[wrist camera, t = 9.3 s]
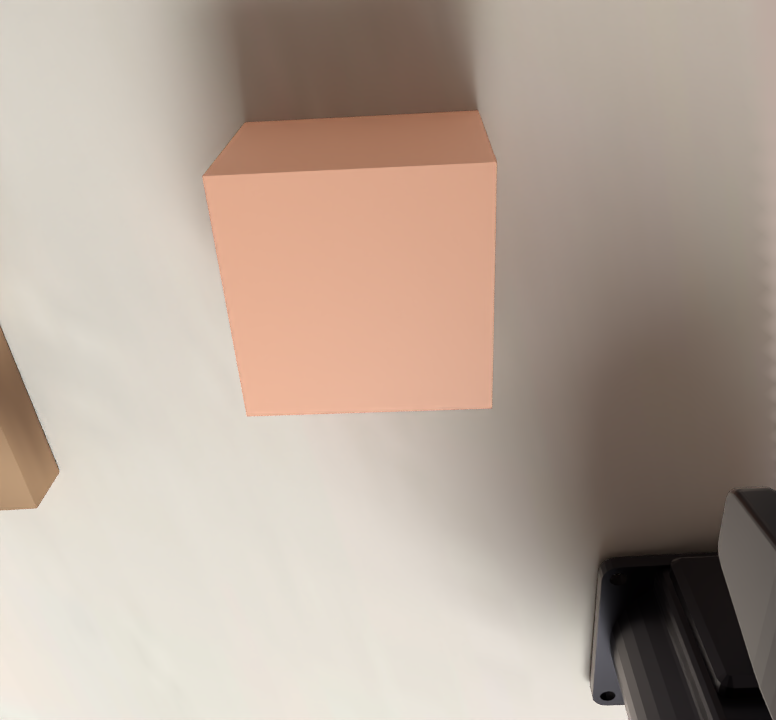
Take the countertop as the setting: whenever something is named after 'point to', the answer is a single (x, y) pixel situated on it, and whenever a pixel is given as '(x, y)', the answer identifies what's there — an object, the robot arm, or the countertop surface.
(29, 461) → the base plate
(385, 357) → the terracotta brick
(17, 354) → the countertop surface
